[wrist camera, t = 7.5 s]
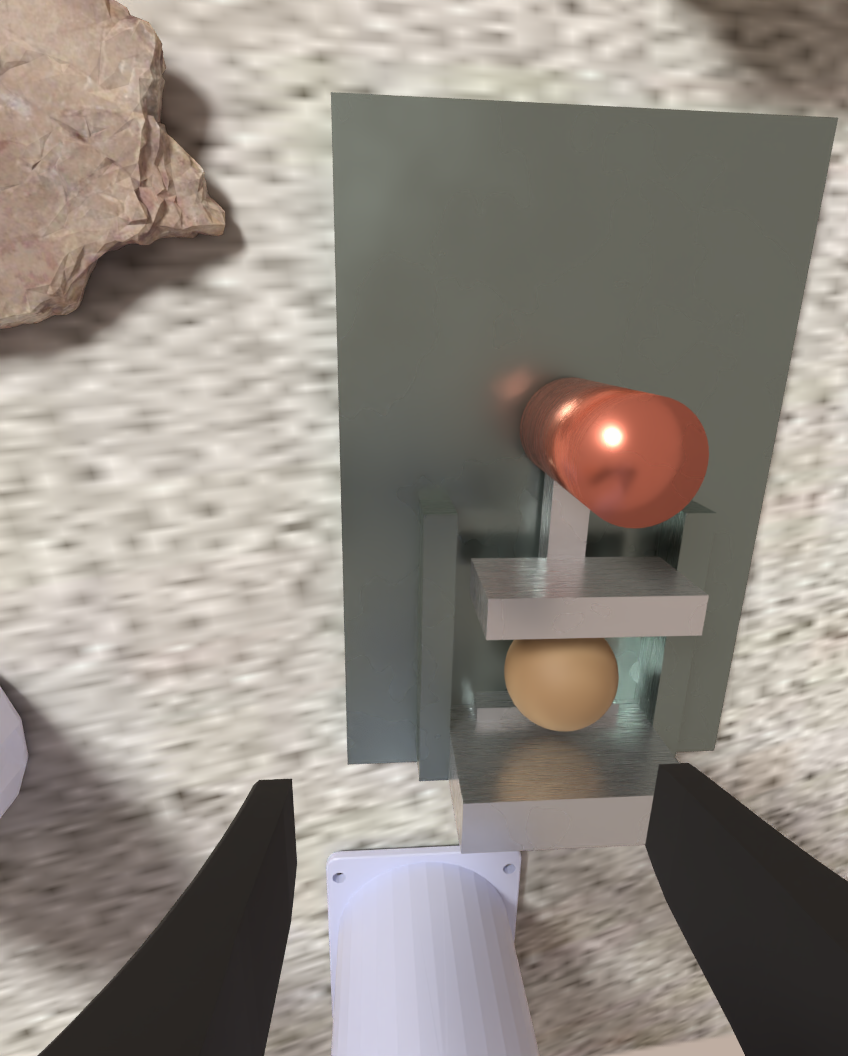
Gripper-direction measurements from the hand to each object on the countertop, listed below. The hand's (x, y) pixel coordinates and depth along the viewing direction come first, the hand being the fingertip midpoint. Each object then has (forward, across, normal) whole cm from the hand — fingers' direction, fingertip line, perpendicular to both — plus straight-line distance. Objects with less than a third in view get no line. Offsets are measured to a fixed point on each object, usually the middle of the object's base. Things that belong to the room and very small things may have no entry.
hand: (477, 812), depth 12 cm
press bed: (+10, -4, -4) cm, 12 cm away
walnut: (+9, -4, +2) cm, 10 cm away
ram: (+9, -4, -4) cm, 11 cm away
